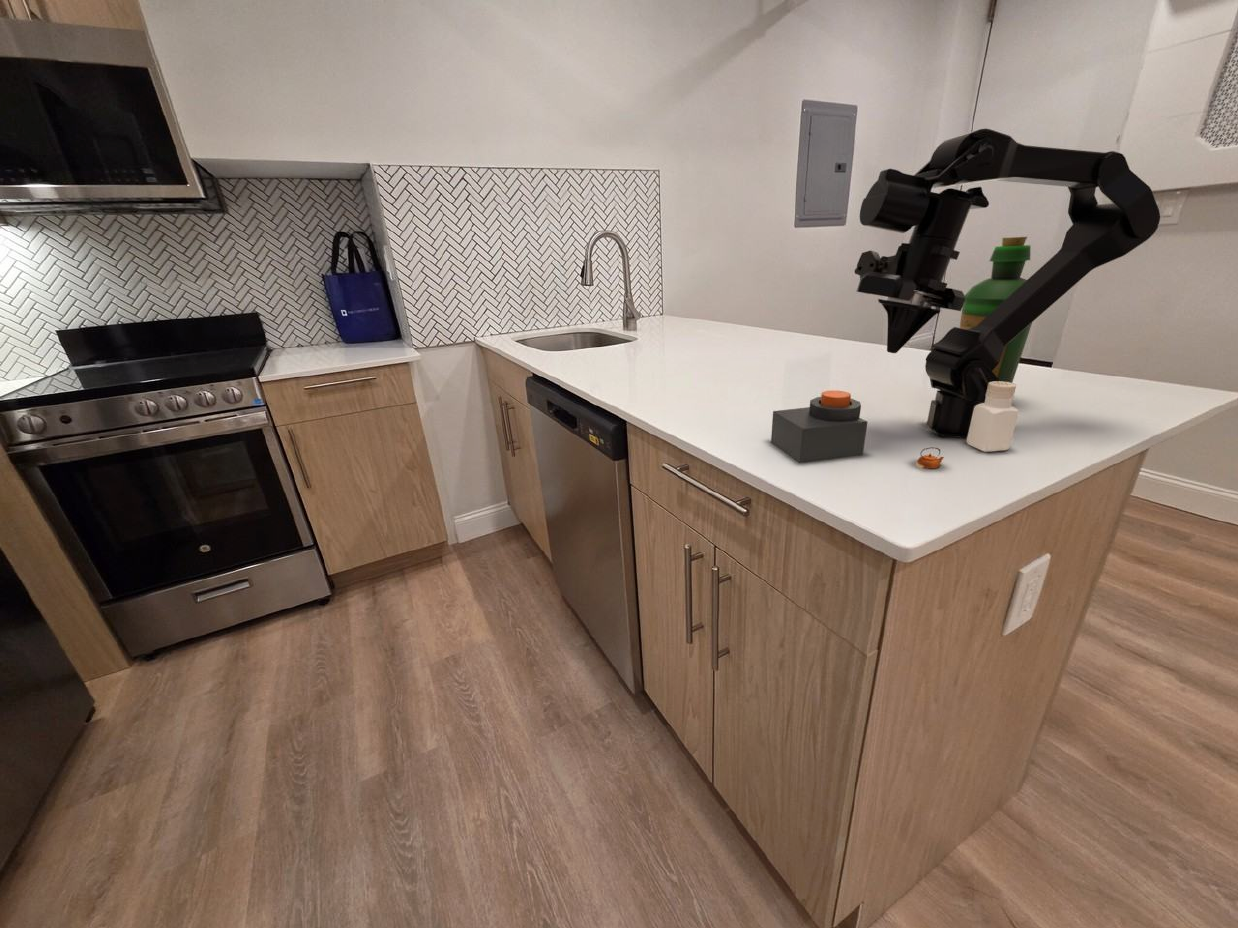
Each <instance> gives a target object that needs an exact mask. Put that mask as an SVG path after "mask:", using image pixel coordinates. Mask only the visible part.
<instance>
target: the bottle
mask: <svg viewBox="0 0 1238 928" xmlns="http://www.w3.org/2000/svg"><path fill="white" fill-rule="evenodd" d="M1027 238H1028V236H1015V237H1014V236H1013V237H1010V236H1009V237H1002V241H1001V246H999V245H998V246H995V247H994V250H993V251H992V254H991V255H990V258H989V262H992V267H991V275H990V277H989V278H986V279H983V280H982V281H980V282H978V283H977V284H975V285H973V286H972V287H970V289H968V291H967V292H966V293H965V294H964V296H965V298H966V300H965V302H964V304H963V307H962V309H961V316H960V321H959V328H963V329H970V328H973V327H975V326H976V325H978V324H979V323H980V322H981V321H982V320H983V319H984V318H986V317H987V316H988V315H989V314H990V313H991V312H992V311H993V310H994V309H996V308H997V307H998V306H999V305H1000V304H1001V303H1002V302H1003V301H1004V300H1005V299H1007V298H1008V297H1009V296H1010V295H1011V294H1012V293H1013V292H1014V291H1015V290H1017V289H1018V288H1019V287H1020V286H1021V285H1022V284H1023V283H1024V282H1025V281H1027V280H1028V279H1026V278H1024V277H1021V276H1022V273H1023V271H1024V268H1025V265H1026V262H1027V261H1031V246H1032V245H1031V244H1025V243H1026V241H1027ZM1032 324H1033V322H1032V323H1031V324H1030V325H1028V326H1027V327H1026V328H1025V329H1024V330H1023V331H1022V332H1020V333H1019V334H1018V335H1017V336H1016V337H1015V338H1014V339H1012V340H1011V341H1010V342H1009V343H1008V344H1007V345H1006V346H1005V348H1004V350H1003V353H1002V356H1001V359H1000V362H999V364H998V366H997V367H996V368H995V369H994V370H993V371H992V372H993V373H994V374H995V375H996V377H997V378H998V379H999V380H1000V381H1003V382H1010V383H1014V379H1015V376H1016V373H1017V370H1018V367H1019V364H1020V361H1021V358H1022V355H1023V352H1024V349H1025V346H1026V344H1027V343H1026V342H1027V340H1028V337H1029V334H1030V330H1031V328H1032Z"/></svg>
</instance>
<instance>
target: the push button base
mask: <svg viewBox="0 0 1238 928" xmlns="http://www.w3.org/2000/svg"><path fill="white" fill-rule="evenodd" d="M820 403H821V396H817V397H814V398H812V399H810V400H809V406H808V407H807V406H806V407H797V408H788V409H782V410H781V409H780V410H773V411H772V420H771V422H772V423H771V434H770V443H771V444H773V445H774V446H775V447H777V448H778V449H780V450H781V451H782V452H784V453H785V454H787V456H789V457H790V458H792V459H793V460H795V461H796V462H797V463H799V464H804V463H810V462H820V461H826V460H827V461H828V460H834V459H842V458H849V457H850V458H851V457H858V456H864V449H865V443H866V436H867V427H868V420H865V419H863V418H861V417H860V416H861V409H862V403H861V402H860V401H859V400H857V399H854V398H851V399H850V406H847V407H829V406H824V405H821V404H820Z"/></svg>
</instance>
